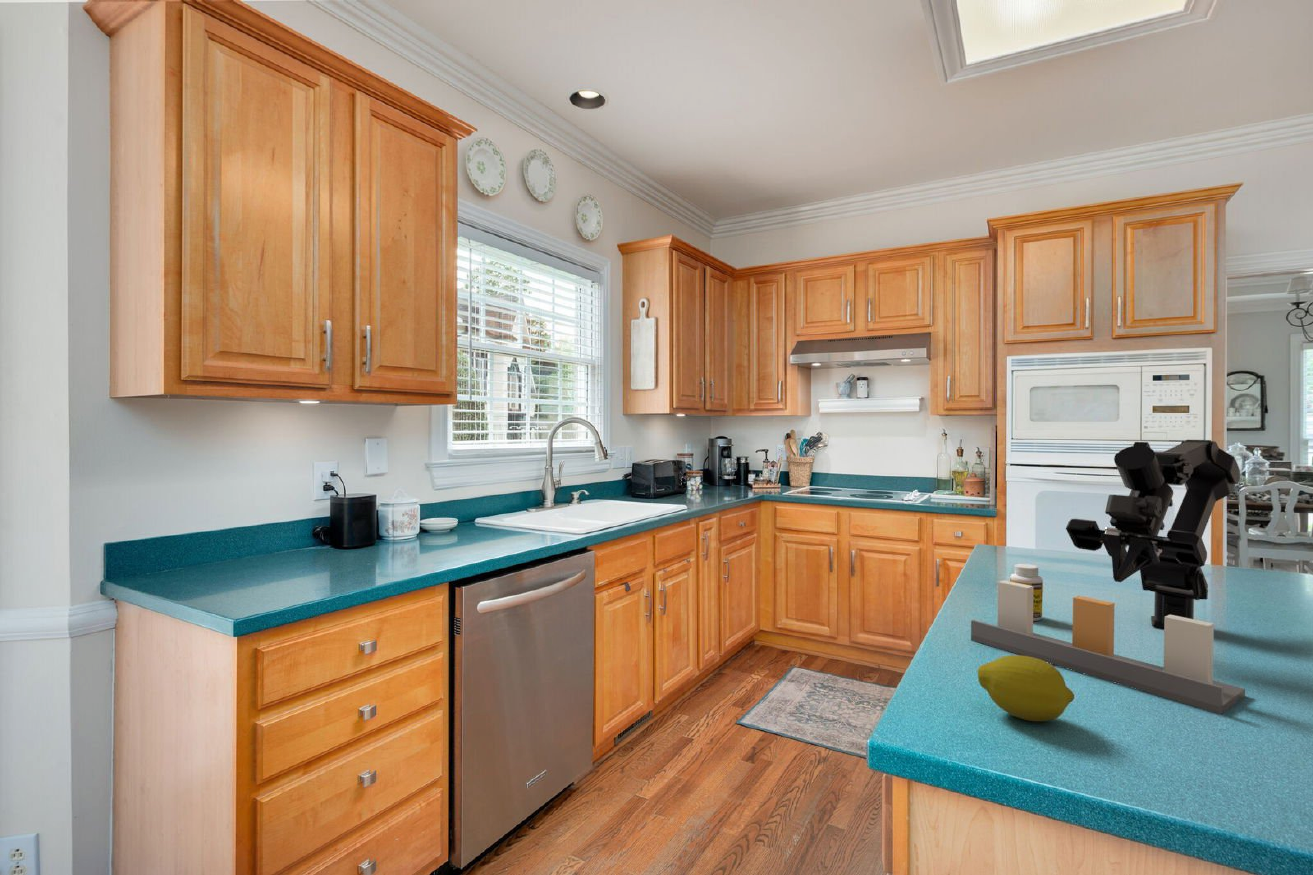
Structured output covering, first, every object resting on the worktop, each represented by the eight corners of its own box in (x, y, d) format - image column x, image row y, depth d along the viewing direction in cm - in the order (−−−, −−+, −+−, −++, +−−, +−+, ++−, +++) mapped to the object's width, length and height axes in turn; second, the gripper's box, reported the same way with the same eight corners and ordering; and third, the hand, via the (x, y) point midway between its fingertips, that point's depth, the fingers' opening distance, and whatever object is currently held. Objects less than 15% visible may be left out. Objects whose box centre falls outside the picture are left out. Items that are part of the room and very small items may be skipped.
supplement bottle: (1033, 623, 121) (1034, 570, 120) (1003, 616, 125) (1004, 564, 125) (1047, 618, 124) (1048, 566, 123) (1018, 611, 128) (1019, 561, 128)
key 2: (1168, 675, 93) (1169, 614, 93) (1212, 687, 89) (1213, 623, 89) (1163, 678, 92) (1164, 616, 92) (1207, 690, 88) (1208, 626, 87)
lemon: (1077, 719, 82) (1078, 658, 82) (1068, 742, 76) (1069, 677, 76) (986, 695, 89) (986, 639, 89) (971, 715, 83) (971, 655, 83)
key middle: (1078, 650, 103) (1078, 595, 103) (1113, 660, 99) (1114, 603, 99) (1072, 653, 102) (1073, 597, 102) (1107, 663, 98) (1108, 605, 97)
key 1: (1003, 630, 113) (1004, 580, 113) (1032, 638, 109) (1033, 586, 109) (997, 632, 112) (998, 581, 112) (1026, 640, 108) (1027, 588, 107)
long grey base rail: (1001, 629, 117) (1001, 610, 117) (1245, 695, 89) (1245, 671, 89) (971, 640, 112) (971, 620, 112) (1220, 714, 83) (1221, 688, 83)
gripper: (1071, 473, 115) (1040, 540, 109) (1202, 482, 99) (1174, 560, 94) (1090, 513, 120) (1061, 580, 114) (1218, 527, 104) (1192, 605, 98)
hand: (1116, 580), depth 105 cm, fingers closed
